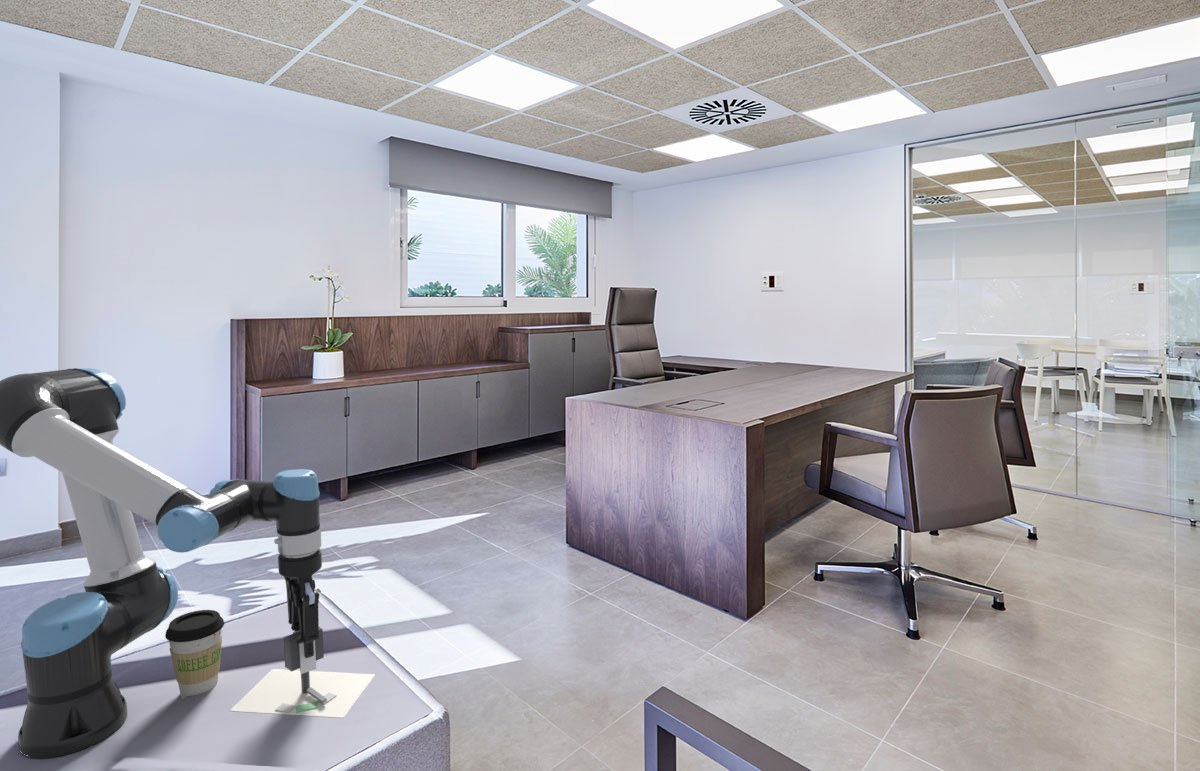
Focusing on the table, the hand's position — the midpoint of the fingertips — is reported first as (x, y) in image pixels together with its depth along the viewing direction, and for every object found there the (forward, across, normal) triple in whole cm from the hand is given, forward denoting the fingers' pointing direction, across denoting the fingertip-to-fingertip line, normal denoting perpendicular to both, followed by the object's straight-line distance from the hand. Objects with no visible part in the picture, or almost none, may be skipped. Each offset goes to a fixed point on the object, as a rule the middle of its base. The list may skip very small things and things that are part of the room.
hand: (305, 665), depth 124 cm
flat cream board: (+7, 0, 0) cm, 7 cm away
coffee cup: (+7, -16, -16) cm, 23 cm away
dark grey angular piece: (+5, +3, 0) cm, 6 cm away
